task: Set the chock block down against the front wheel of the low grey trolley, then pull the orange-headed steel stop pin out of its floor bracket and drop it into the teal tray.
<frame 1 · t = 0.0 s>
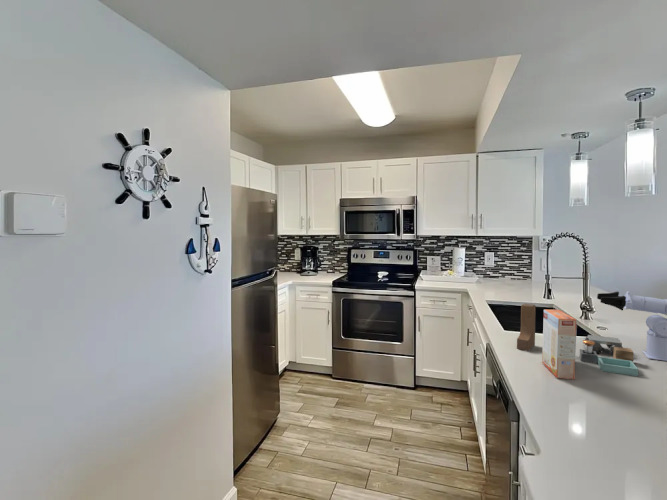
hand: (599, 297, 142), 22 cm above the worktop, tool horizontal, fingers open, 7 cm apart
wooden block: (525, 347, 149), on the worktop
cracker box: (557, 371, 125), on the worktop
tray: (616, 369, 125), on the worktop
stop pin: (588, 350, 134), in the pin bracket
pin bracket: (588, 359, 134), on the worktop
skincare box: (561, 361, 133), on the worktop
trolley: (603, 350, 143), on the worktop
chock: (622, 362, 131), on the worktop
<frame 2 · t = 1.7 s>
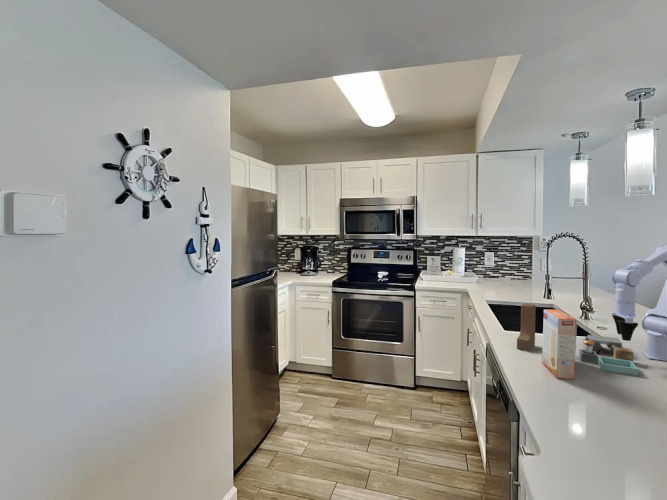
hand: (623, 337, 130), 10 cm above the worktop, tool pointing down, fingers open, 7 cm apart
nothing on the worktop moved.
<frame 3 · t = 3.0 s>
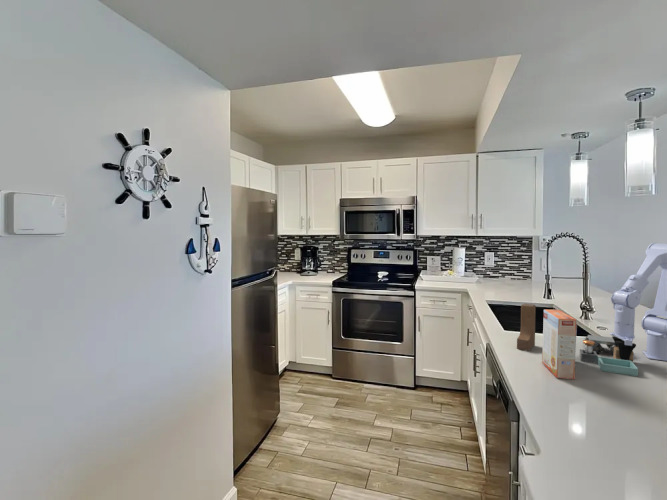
hand: (623, 358, 131), 1 cm above the worktop, tool pointing down, fingers closed on chock, 4 cm apart
chock: (622, 362, 131), on the worktop, touching gripper
everything else where it was.
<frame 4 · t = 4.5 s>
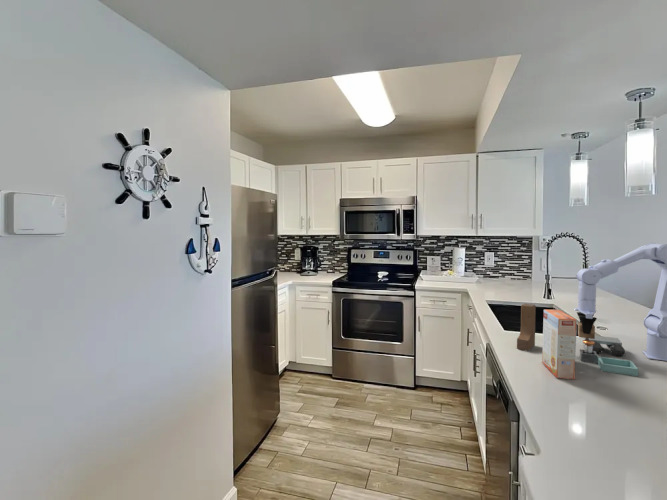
hand: (585, 331, 141), 9 cm above the worktop, tool pointing down, fingers closed on chock, 4 cm apart
chock: (586, 336, 141), point 7 cm above the worktop, touching gripper
everything else where it was.
when the fingers open (2 cm above the worktop, at t = 6.2 s): chock stays where it is, on the worktop.
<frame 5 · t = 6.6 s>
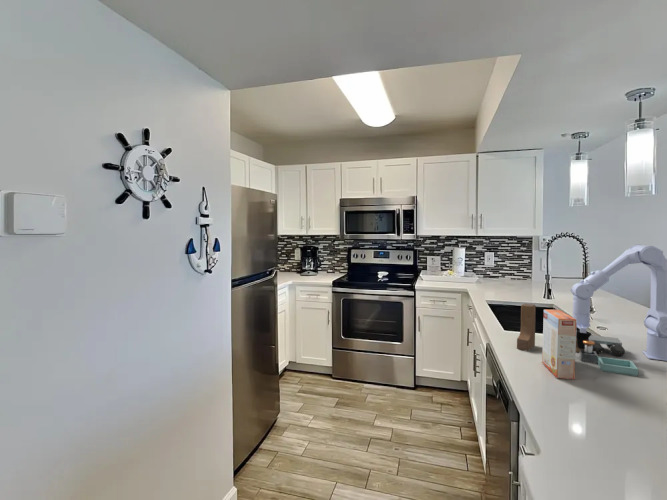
hand: (580, 345, 143), 2 cm above the worktop, tool pointing down, fingers open, 7 cm apart
chock: (580, 351, 143), on the worktop
everything else where it was.
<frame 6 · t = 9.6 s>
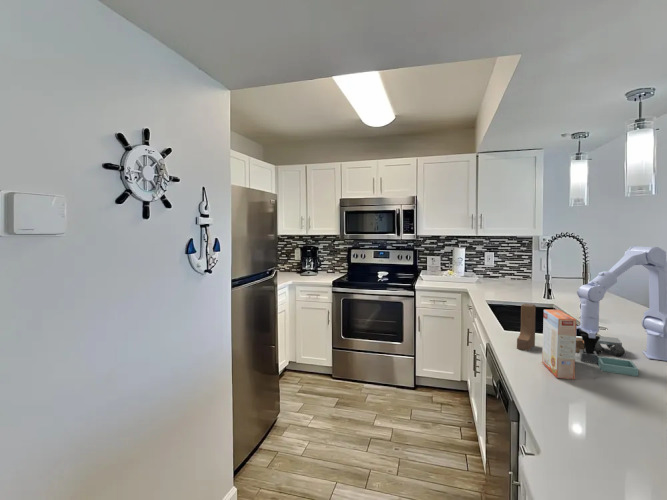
hand: (588, 351, 134), 3 cm above the worktop, tool pointing down, fingers closed on stop pin, 3 cm apart
stop pin: (588, 350, 134), in the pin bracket, touching gripper
everything else where it was.
when the fingers open (6 cm above the worktop, at t = 12.6 s): stop pin drops 2 cm, resting on tray.
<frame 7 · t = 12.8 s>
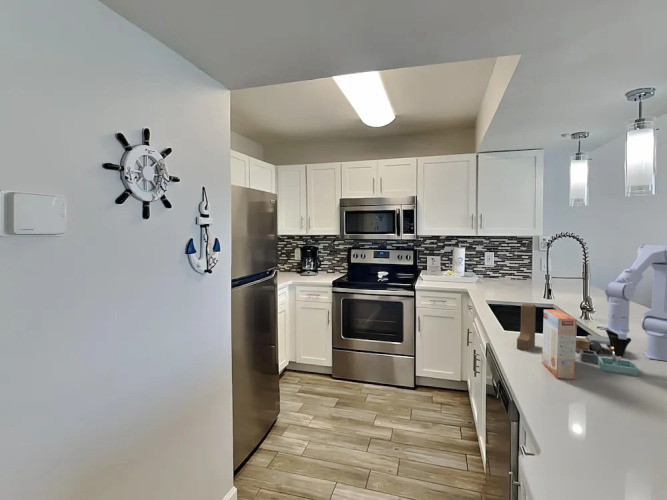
hand: (617, 353, 124), 6 cm above the worktop, tool pointing down, fingers open, 5 cm apart
stop pin: (616, 357, 125), in the tray
everything else where it was.
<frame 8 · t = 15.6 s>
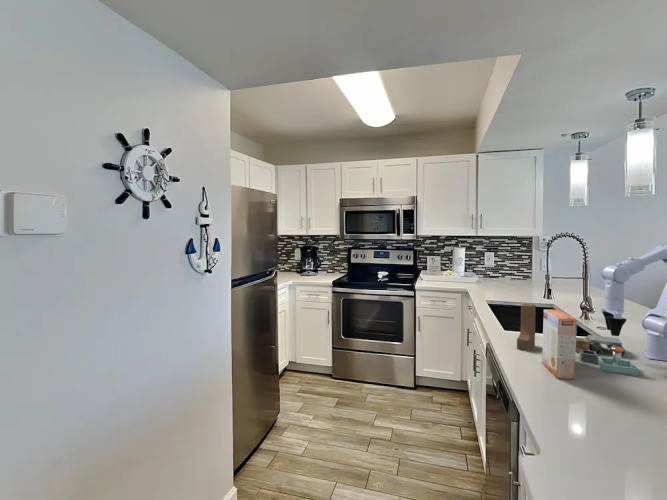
hand: (612, 332, 133), 10 cm above the worktop, tool pointing down, fingers open, 7 cm apart
nothing on the worktop moved.
at the end: chock 0.9 cm from the target spot, on the worktop; stop pin inside the target area on the tray (0.0 cm from its centre), point 4.2 cm above the tray's base; the gripper is holding nothing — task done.
